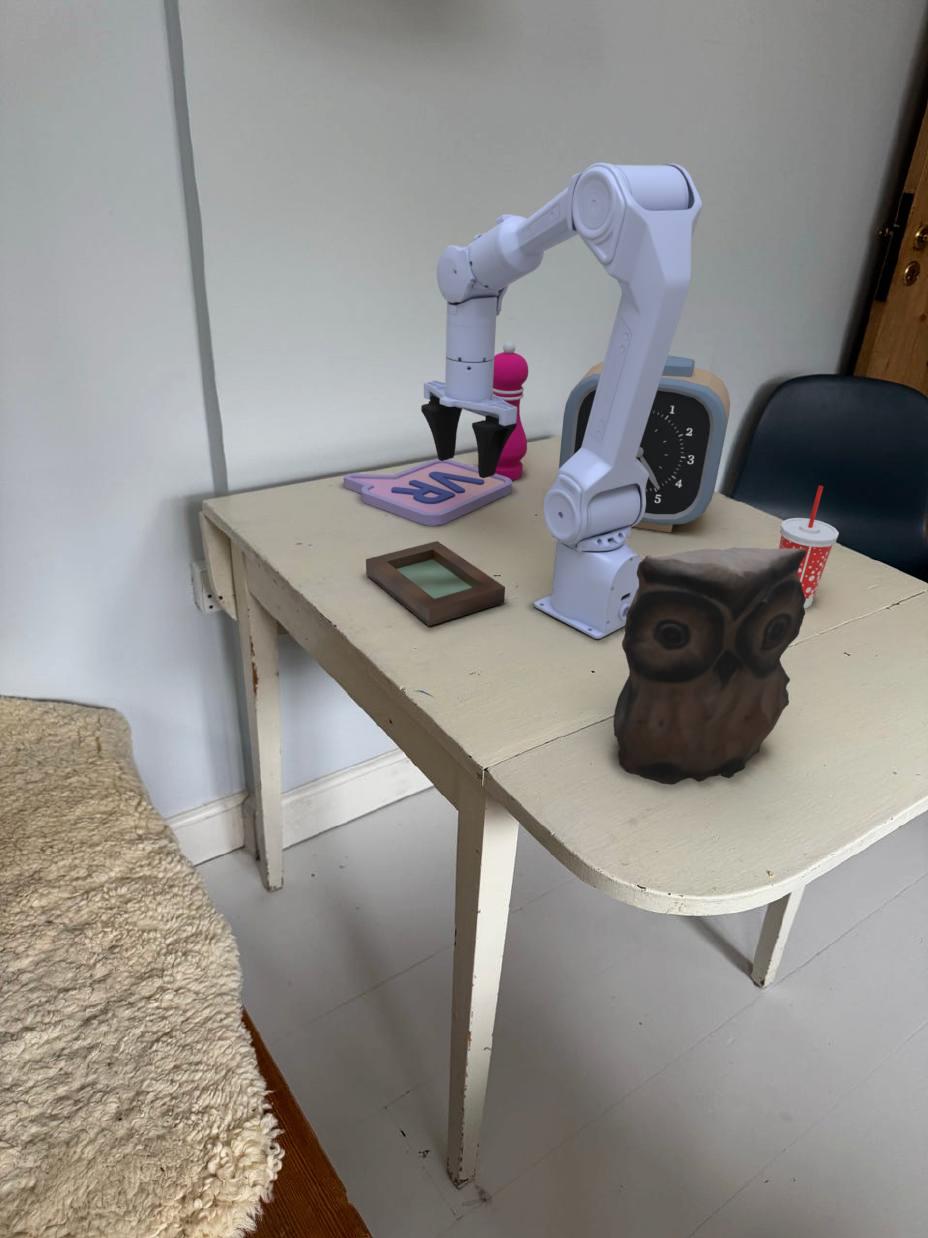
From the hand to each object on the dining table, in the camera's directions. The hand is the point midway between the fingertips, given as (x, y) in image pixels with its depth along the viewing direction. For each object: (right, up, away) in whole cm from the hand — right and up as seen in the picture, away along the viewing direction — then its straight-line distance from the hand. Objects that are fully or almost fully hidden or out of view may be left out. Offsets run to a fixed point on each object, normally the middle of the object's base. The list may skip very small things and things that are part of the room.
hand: (466, 467), depth 106 cm
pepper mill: (+6, +3, +25) cm, 26 cm away
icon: (-6, 0, +18) cm, 19 cm away
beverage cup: (+38, -17, -8) cm, 42 cm away
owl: (+19, -30, -31) cm, 47 cm away
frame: (-4, -16, -9) cm, 18 cm away
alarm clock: (+23, -5, +12) cm, 27 cm away
